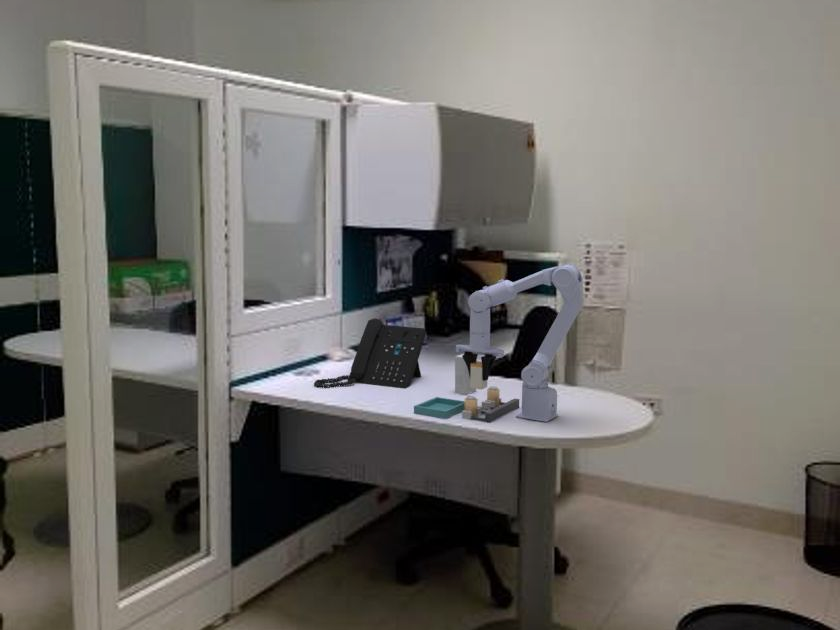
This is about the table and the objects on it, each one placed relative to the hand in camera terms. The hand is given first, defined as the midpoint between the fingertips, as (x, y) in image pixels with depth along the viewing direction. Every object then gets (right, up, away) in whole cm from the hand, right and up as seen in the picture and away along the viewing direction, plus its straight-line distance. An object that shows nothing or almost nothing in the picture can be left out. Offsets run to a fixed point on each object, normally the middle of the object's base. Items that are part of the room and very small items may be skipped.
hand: (478, 379), depth 229 cm
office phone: (-34, -5, +37) cm, 50 cm away
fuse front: (-3, -10, -4) cm, 11 cm away
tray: (-11, -9, +1) cm, 14 cm away
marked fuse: (0, -2, 0) cm, 2 cm away
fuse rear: (+5, -9, +7) cm, 12 cm away
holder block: (+3, -10, 0) cm, 10 cm away
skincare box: (-3, -6, +24) cm, 24 cm away
